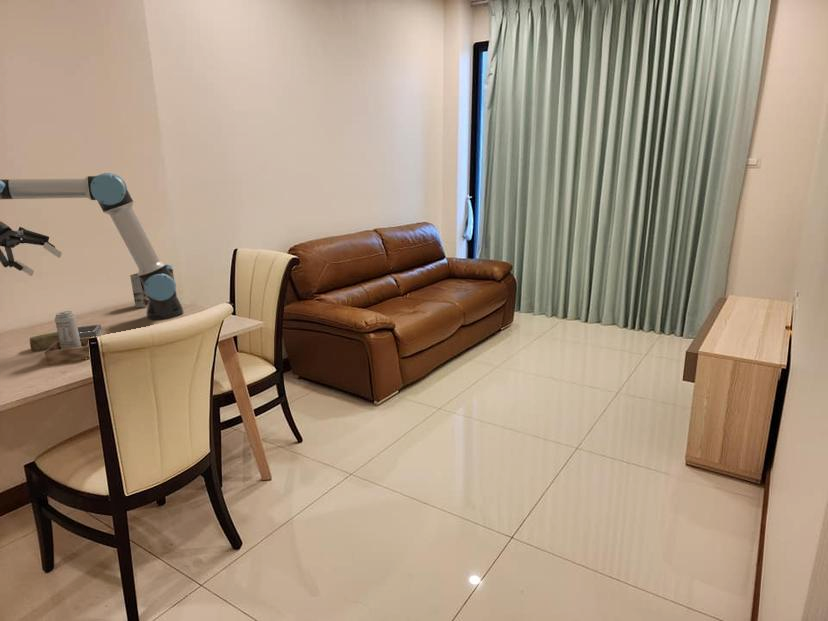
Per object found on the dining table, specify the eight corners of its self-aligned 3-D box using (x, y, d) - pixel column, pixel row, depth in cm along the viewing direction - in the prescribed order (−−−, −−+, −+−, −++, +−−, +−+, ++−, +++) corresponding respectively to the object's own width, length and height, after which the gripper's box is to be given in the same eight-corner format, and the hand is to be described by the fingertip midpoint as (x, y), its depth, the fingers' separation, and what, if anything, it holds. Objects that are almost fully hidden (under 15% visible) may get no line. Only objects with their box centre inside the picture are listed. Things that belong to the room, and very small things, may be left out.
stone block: (69, 344, 200) (66, 332, 199) (33, 353, 192) (30, 340, 191) (65, 341, 204) (62, 329, 203) (30, 349, 196) (26, 337, 195)
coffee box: (146, 307, 252) (141, 275, 248) (135, 307, 253) (129, 274, 249) (159, 303, 261) (153, 271, 256) (147, 302, 262) (142, 271, 258)
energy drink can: (86, 350, 189) (78, 310, 185) (73, 356, 183) (64, 315, 180) (72, 350, 190) (63, 310, 186) (58, 355, 185) (49, 315, 181)
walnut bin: (97, 347, 195) (95, 336, 194) (90, 358, 183) (88, 346, 182) (57, 352, 191) (54, 341, 190) (47, 364, 179) (44, 352, 178)
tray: (101, 330, 218) (100, 324, 217) (96, 337, 208) (95, 331, 207) (71, 333, 214) (70, 327, 213) (64, 341, 204) (63, 335, 203)
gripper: (18, 220, 203) (69, 254, 207) (-39, 251, 183) (18, 287, 188) (22, 207, 199) (73, 242, 203) (-37, 237, 179) (21, 275, 183)
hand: (46, 264), depth 195 cm, fingers open, 13 cm apart
